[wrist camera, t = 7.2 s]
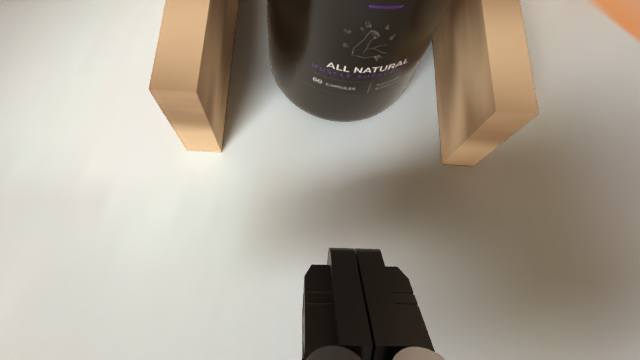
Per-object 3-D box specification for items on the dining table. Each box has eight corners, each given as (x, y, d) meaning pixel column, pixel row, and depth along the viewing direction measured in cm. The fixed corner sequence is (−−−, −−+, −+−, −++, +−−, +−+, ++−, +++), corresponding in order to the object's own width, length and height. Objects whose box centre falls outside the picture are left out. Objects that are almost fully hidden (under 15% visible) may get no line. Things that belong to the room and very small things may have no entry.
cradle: (473, 165, 18) (545, 107, 13) (186, 150, 17) (144, 82, 12) (453, -28, 22) (503, -132, 17) (216, -48, 21) (193, -164, 16)
